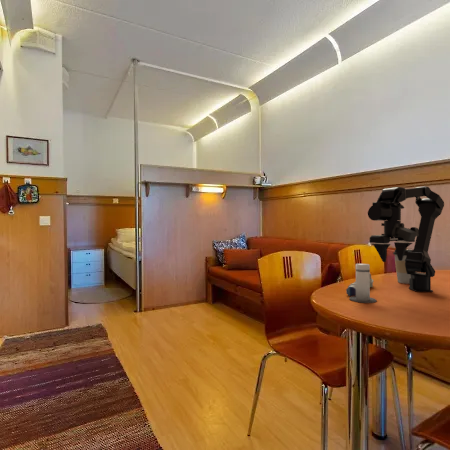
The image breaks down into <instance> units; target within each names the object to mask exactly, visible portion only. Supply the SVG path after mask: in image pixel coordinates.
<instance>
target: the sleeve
mask: <svg viewBox="0 0 450 450" xmlns="http://www.w3.org/2000/svg"><path fill="white" fill-rule="evenodd" d="M370 266H371V265H370V264H369V263H355V281H356V295H355V296H356V299H357V300H362V301H368V300H370V297H371V294H370V293H371V292H370V291H371V289H370V288H371V287H370V274H371V272H370V269H371V268H370Z"/></svg>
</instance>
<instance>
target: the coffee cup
mask: <svg viewBox="0 0 450 450" xmlns="http://www.w3.org/2000/svg"><path fill="white" fill-rule="evenodd" d="M412 250H413V249H406V251H405V253H404V256H403V259H402V261H399V260H398V256H397V252H396V249H394V251H393V253H392V255H394V262H395V271H396V278H397V282H398V283H399V284H409V279H410V278H411V274H407V272H406V268H405V259H406V255H407V252H411V251H412Z"/></svg>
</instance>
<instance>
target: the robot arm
mask: <svg viewBox="0 0 450 450" xmlns="http://www.w3.org/2000/svg"><path fill="white" fill-rule="evenodd" d="M421 197H426V198H421ZM411 198H415V200H414V201H415V204H416V206H417V207H418V213H419V215H420V221H419V225H418V227H414V226H413V227H412V226H411V227H410V228H407V227H405V224H404V222H402V210H403V209H405V207H404V205H402V202H405V201H406V200H407V199H411ZM444 208H445V202H444V200H443V197H441V196H440V194H438V193H436V192H435V191H433V190H431V188H430V187H429V186H425V185H424V186H417V187H411V188H405V187H399V186H397V187H388V188H383V189H382V190H381V193H380V194H379V196H378V198H377V200H376V201H375V202H372V204H371V206H370V207H369V208H368V211H367V216H368V219H370V220H371V221H376V222H378V221H382V223H381V226H382V227H383V233H381V235H380V234H378V235H377V234H373V235H370V236H369V242H368V243H369V244H371V245H372V246H373V247H374V248H375V250H376V252H377V253H378V255H379V257H380V259H381V261H382V262H383V263H386V262H387V256H388V249H389V247H390V246H391V243H390V242H394V247H395V250H396V252H397V256H398V260H399V261H402V259H403V256H404V253H405V251H406V250H408V249H407V248H408V247H409V246H410V245H413V243H414V246H413V249H411V250H412V251H411V252H407V255H406V259H405V268H406V272H407V274H411V278H410V279H409V285H408V289H409V290H412V291H415V292H417V293H418V292H419V293H420V292H421V293H422V292H424V293H426V292H430V293H431V292H433V293H434V290H433V289H431V288H432V287H431V282H432V281H431V279H432V278H434V277H435V274H436V270H435V269H434V266H433V265H432V264H431V260H432V259H431V257H430V255H429V253H428V252H429V249H430V245H431V239H432V234H433V230H434V225H435V221H436V219H437V218H438V217H440V216H441V214H442V213H443V209H444Z"/></svg>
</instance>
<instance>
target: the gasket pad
mask: <svg viewBox="0 0 450 450" xmlns="http://www.w3.org/2000/svg"><path fill="white" fill-rule="evenodd" d="M348 300H350V301H352V302H355V303H360V304H361V303H362V304H373V303H375V304H376V303H377V302H378V301H377V299H376V298H375V297H371V296H370V300H368V301H362V300H357V299H356V295H355V296H350V297H349V299H348Z"/></svg>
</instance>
